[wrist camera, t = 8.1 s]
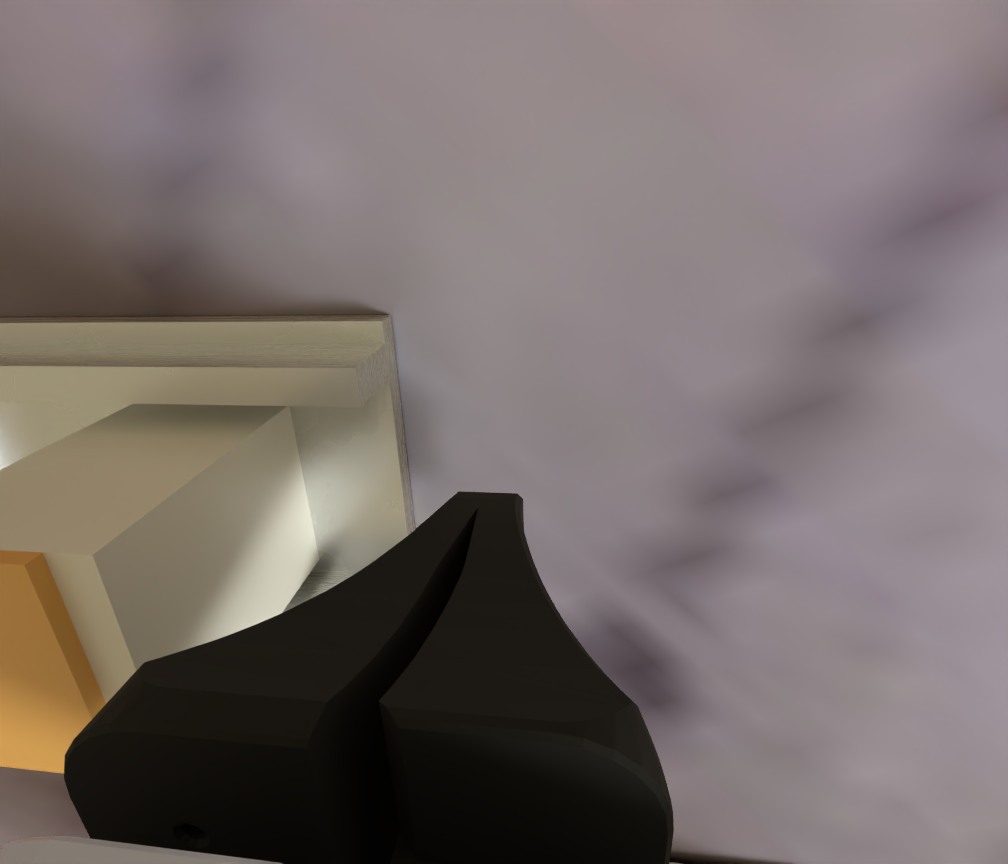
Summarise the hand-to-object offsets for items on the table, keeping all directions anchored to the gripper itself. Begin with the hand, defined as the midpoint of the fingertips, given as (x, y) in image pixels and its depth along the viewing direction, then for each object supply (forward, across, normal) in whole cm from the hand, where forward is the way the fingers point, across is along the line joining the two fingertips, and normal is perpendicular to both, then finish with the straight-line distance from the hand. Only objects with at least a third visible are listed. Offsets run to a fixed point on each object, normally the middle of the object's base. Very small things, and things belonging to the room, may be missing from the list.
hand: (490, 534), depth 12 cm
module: (+2, +7, 0) cm, 7 cm away
